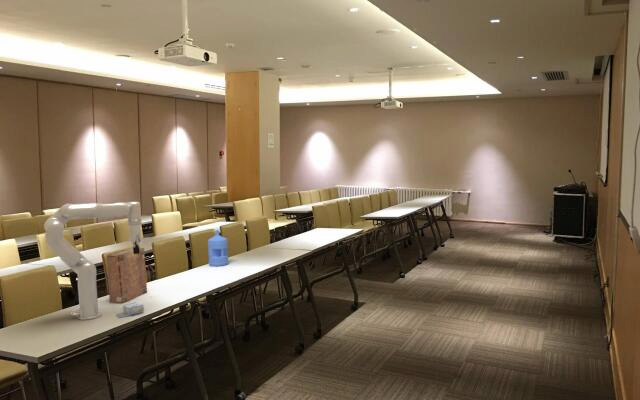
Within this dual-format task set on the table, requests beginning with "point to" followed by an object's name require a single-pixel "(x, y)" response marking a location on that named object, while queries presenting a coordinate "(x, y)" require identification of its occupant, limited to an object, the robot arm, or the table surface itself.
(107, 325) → the table surface
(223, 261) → the water jug
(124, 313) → the slate mat
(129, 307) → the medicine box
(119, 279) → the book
